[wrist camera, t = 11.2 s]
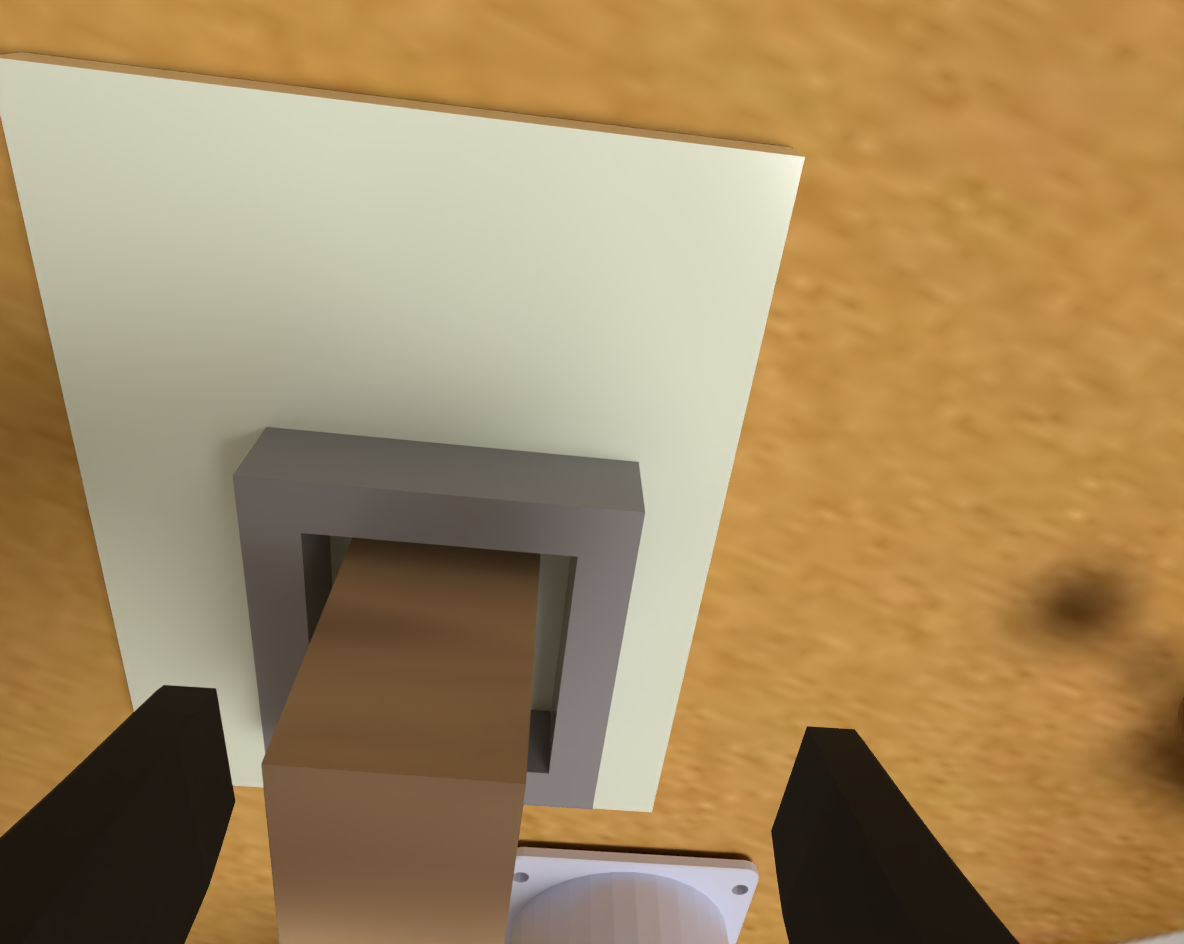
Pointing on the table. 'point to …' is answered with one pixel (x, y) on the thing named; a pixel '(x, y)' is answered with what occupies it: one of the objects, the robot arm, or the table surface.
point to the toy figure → (1181, 720)
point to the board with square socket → (396, 374)
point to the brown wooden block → (406, 750)
